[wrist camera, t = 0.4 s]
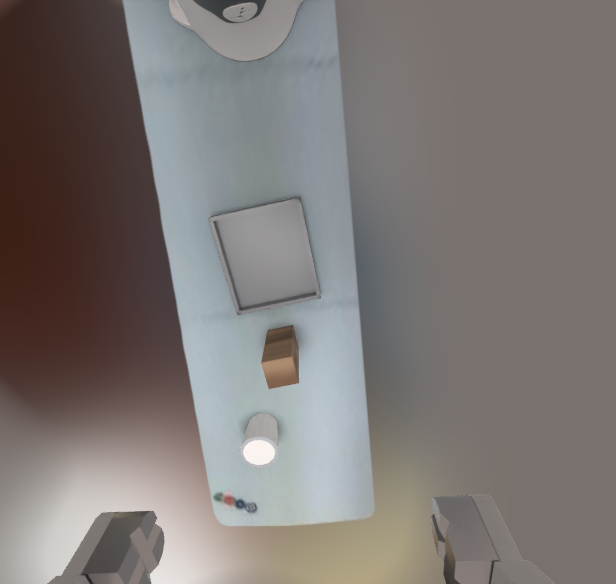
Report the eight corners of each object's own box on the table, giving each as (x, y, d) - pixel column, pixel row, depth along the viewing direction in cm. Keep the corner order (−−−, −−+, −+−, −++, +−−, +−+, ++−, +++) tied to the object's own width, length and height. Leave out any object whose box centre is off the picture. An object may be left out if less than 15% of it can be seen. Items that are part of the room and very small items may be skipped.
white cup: (276, 407, 65) (273, 433, 58) (284, 436, 67) (282, 464, 60) (240, 414, 65) (234, 441, 58) (250, 442, 67) (245, 471, 61)
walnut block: (267, 330, 60) (261, 362, 49) (292, 325, 60) (291, 356, 49) (273, 352, 61) (268, 388, 51) (298, 347, 61) (298, 383, 51)
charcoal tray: (211, 216, 53) (207, 218, 51) (299, 197, 53) (299, 197, 51) (239, 310, 58) (237, 315, 56) (320, 293, 58) (320, 297, 56)
